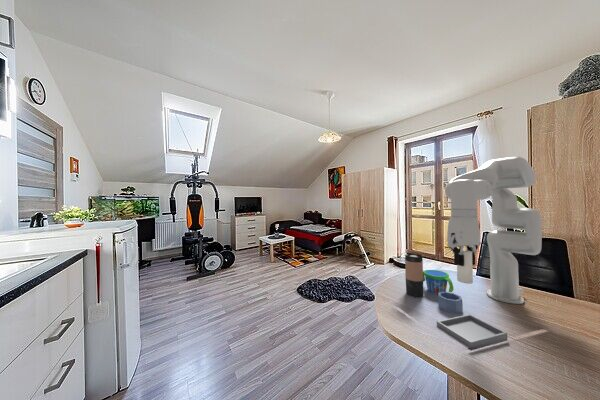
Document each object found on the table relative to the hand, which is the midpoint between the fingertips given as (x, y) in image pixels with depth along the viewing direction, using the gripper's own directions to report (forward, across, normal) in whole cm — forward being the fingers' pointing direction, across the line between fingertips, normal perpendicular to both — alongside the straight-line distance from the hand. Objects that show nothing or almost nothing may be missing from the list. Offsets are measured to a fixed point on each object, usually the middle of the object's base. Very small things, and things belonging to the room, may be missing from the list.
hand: (464, 263), depth 76 cm
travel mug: (+24, -3, -27) cm, 36 cm away
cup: (+24, -7, -12) cm, 27 cm away
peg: (+6, 0, 0) cm, 6 cm away
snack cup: (+24, -15, -26) cm, 39 cm away
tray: (+24, +1, +2) cm, 24 cm away
